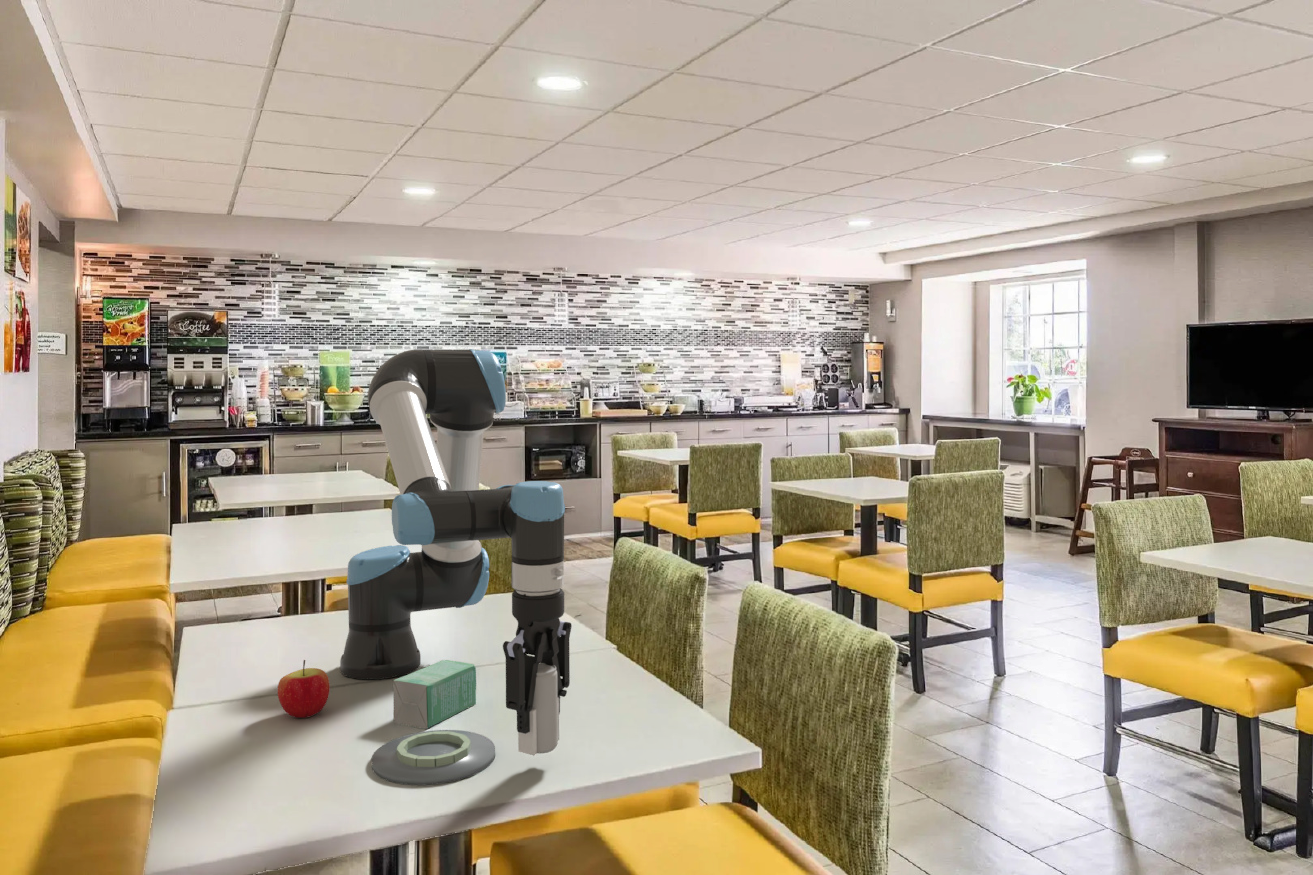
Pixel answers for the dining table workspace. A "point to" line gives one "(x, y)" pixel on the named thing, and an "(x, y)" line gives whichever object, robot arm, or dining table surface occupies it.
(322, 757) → the dining table surface
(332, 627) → the dining table surface
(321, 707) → the apple
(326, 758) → the dining table surface
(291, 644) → the dining table surface
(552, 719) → the beverage can
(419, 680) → the box
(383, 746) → the tray
